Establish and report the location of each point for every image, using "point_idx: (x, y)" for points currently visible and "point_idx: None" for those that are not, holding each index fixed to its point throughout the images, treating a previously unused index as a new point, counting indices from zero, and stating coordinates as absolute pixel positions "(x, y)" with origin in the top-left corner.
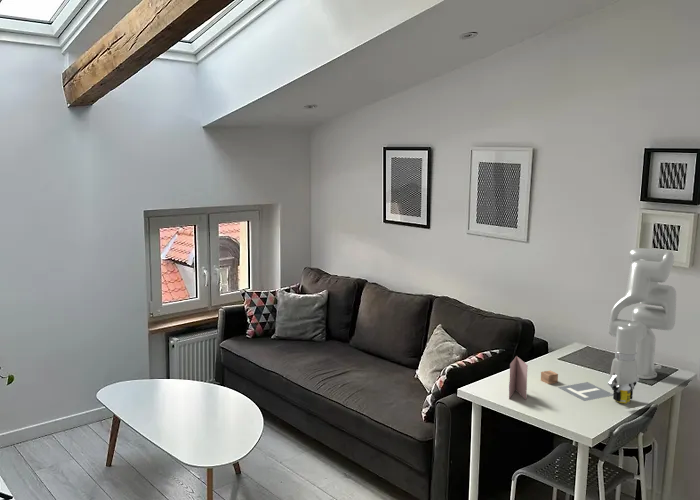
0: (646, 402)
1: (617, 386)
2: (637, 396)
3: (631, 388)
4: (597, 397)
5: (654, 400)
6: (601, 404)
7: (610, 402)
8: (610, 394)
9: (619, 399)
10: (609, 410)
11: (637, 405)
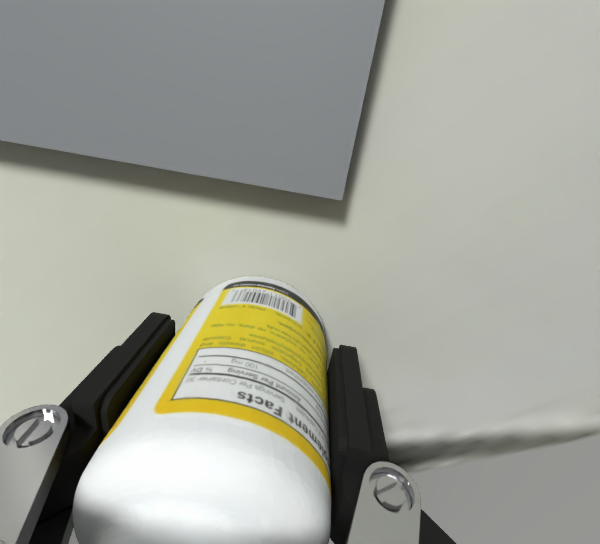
0: (470, 422)
1: (73, 501)
2: (574, 311)
3: (338, 540)
4: (58, 121)
5: (575, 435)
6: (48, 237)
7: (175, 255)
8: (306, 149)
9: None
10: (38, 353)
11: None
